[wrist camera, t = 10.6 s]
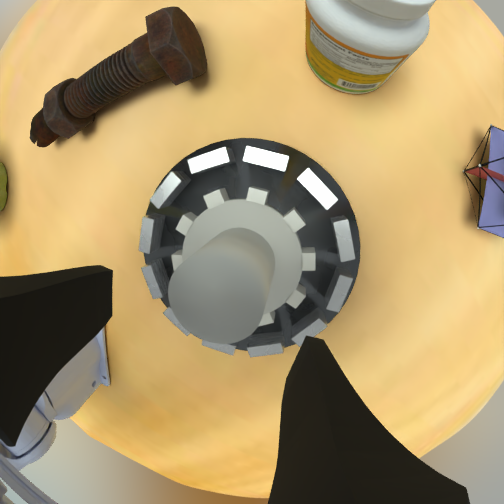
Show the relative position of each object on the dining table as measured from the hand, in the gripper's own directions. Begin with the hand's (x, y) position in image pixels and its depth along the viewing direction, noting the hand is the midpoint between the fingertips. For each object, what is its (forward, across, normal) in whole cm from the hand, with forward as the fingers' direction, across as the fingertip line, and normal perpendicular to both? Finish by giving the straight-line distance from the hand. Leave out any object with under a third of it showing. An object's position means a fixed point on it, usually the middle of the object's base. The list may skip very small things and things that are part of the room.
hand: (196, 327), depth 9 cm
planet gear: (+8, 0, 0) cm, 8 cm away
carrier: (+9, 0, 0) cm, 9 cm away
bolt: (+10, +13, -9) cm, 18 cm away
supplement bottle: (+9, -3, -14) cm, 17 cm away
